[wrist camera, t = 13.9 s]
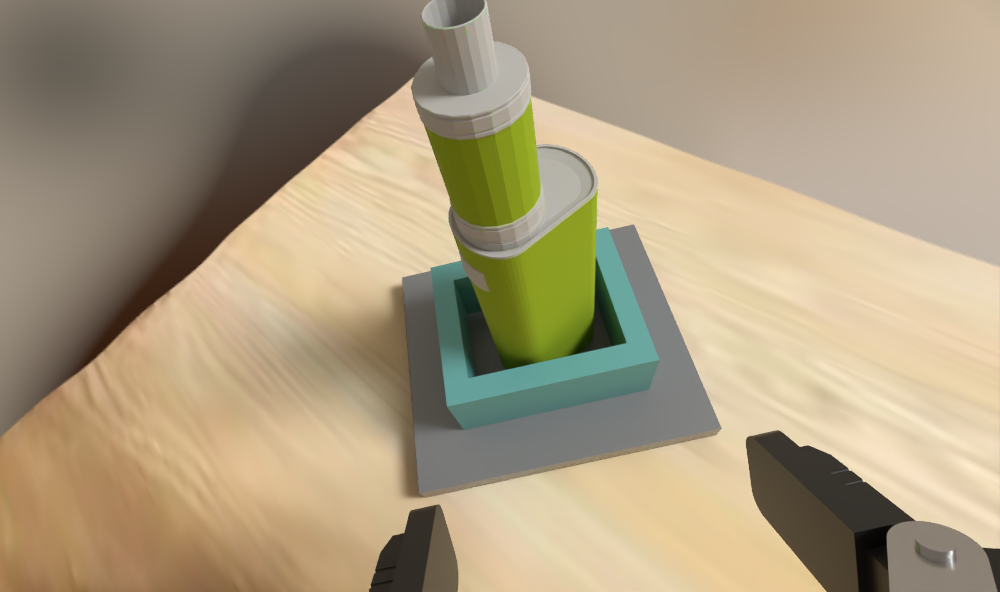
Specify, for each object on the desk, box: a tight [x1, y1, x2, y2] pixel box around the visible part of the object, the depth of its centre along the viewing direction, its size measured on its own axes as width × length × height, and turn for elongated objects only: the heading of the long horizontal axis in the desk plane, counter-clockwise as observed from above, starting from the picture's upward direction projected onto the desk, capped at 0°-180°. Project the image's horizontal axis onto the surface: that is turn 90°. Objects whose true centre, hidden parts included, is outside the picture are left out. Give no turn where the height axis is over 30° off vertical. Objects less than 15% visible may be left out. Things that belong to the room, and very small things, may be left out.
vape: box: [411, 0, 598, 370], centre depth 20 cm, size 4×6×20 cm, turn 130°
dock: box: [402, 225, 722, 497], centre depth 27 cm, size 16×14×5 cm
